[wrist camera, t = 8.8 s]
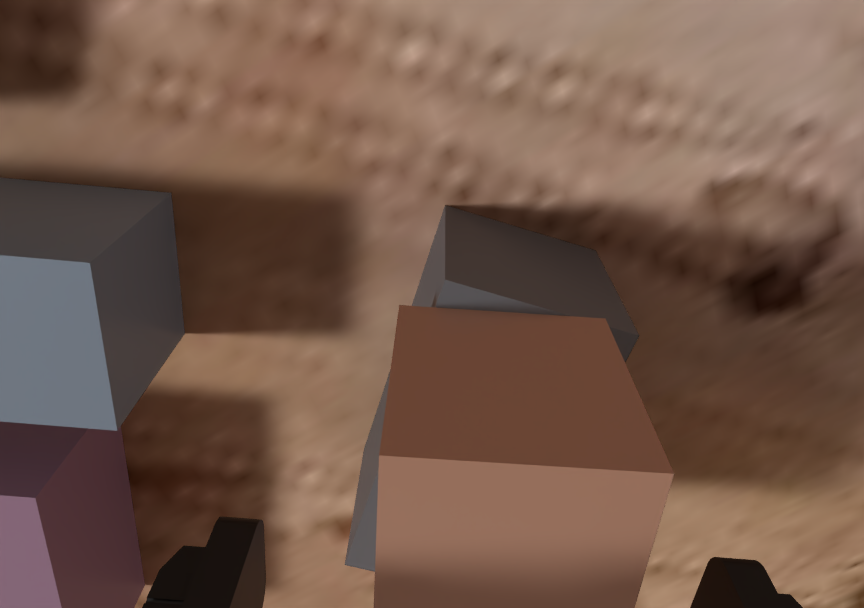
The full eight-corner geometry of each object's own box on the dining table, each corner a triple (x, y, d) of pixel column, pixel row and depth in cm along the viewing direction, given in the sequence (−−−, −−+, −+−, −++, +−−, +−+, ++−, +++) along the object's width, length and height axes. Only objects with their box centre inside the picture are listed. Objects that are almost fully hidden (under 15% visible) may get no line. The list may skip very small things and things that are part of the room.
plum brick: (-22, 377, 19) (-142, 484, 15) (118, 389, 19) (35, 497, 15) (29, 572, 23) (-57, 698, 19) (146, 581, 23) (85, 708, 19)
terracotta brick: (399, 305, 13) (379, 455, 9) (605, 318, 13) (674, 473, 9) (386, 590, 17) (367, 785, 13) (546, 600, 17) (577, 797, 13)
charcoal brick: (445, 203, 17) (445, 279, 13) (594, 249, 17) (639, 335, 13) (364, 446, 20) (344, 564, 16) (490, 478, 21) (500, 600, 17)
